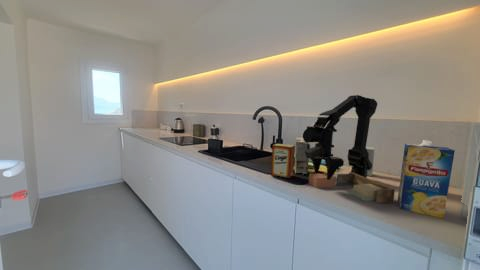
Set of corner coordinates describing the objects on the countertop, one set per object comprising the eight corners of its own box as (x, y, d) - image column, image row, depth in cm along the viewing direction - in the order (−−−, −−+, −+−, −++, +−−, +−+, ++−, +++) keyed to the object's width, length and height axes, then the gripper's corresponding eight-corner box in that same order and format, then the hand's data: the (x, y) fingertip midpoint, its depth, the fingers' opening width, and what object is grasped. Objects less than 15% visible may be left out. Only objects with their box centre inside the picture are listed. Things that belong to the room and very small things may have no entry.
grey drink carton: (307, 175, 101) (310, 144, 99) (295, 173, 102) (297, 143, 101) (305, 170, 110) (307, 142, 108) (294, 169, 111) (295, 141, 109)
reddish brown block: (326, 182, 91) (327, 173, 91) (334, 187, 85) (335, 177, 85) (308, 183, 90) (309, 173, 89) (315, 188, 84) (316, 178, 84)
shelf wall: (351, 182, 92) (352, 172, 92) (393, 202, 72) (394, 189, 71) (339, 182, 91) (339, 172, 90) (378, 203, 71) (379, 190, 70)
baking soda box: (270, 175, 99) (272, 144, 97) (275, 172, 104) (277, 142, 102) (289, 179, 94) (291, 146, 92) (293, 175, 99) (295, 144, 97)
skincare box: (371, 174, 107) (375, 147, 105) (372, 176, 102) (375, 149, 100) (354, 171, 112) (357, 145, 110) (353, 173, 106) (356, 147, 105)
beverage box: (397, 201, 73) (404, 143, 71) (437, 210, 67) (447, 147, 65) (399, 208, 67) (408, 146, 65) (444, 218, 61) (455, 150, 59)
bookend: (345, 181, 94) (346, 171, 93) (352, 184, 89) (354, 174, 89) (330, 181, 92) (331, 171, 92) (337, 185, 88) (338, 174, 87)
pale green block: (369, 192, 80) (370, 183, 80) (384, 200, 74) (385, 190, 73) (351, 193, 78) (352, 184, 78) (364, 201, 72) (365, 191, 71)
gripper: (298, 138, 93) (295, 170, 95) (321, 145, 75) (317, 184, 77) (319, 139, 95) (316, 169, 97) (346, 145, 77) (342, 183, 79)
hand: (322, 176), depth 87 cm, fingers open, 9 cm apart
